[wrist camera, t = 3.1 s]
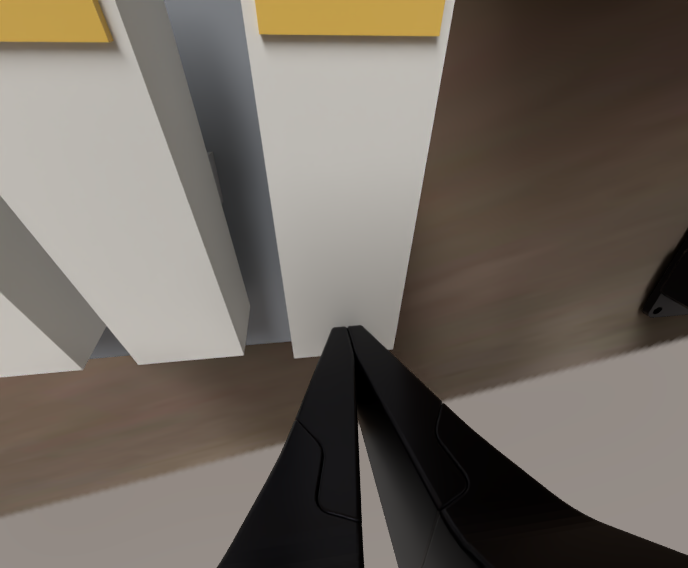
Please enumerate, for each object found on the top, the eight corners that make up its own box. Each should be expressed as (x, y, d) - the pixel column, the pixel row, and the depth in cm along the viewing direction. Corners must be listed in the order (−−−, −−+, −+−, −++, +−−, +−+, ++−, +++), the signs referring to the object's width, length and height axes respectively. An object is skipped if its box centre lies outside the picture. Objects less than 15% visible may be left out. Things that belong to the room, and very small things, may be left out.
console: (388, -97, 9) (445, -215, 5) (370, 293, 16) (389, 350, 12) (-154, -126, 7) (-538, -308, 4) (89, 313, 14) (25, 383, 11)
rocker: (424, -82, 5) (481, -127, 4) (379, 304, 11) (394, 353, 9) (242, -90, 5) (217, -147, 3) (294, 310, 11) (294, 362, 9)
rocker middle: (133, -108, 5) (52, -154, 3) (250, 305, 11) (243, 359, 9) (-102, -121, 4) (-322, -176, 3) (159, 312, 10) (136, 369, 9)
